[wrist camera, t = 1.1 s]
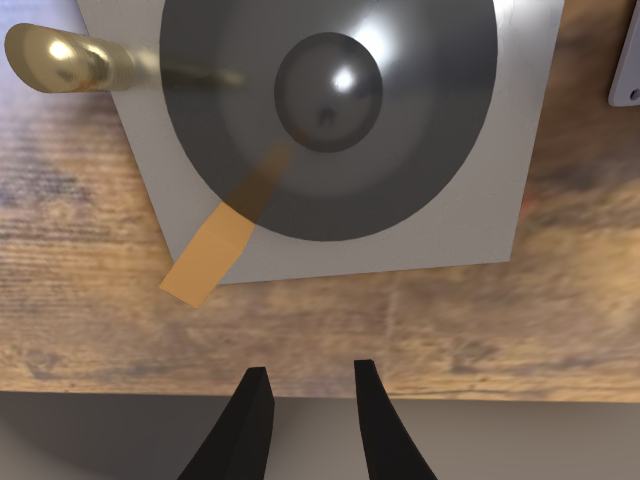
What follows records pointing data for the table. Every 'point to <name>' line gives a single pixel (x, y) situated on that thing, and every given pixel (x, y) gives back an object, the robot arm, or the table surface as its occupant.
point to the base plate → (264, 245)
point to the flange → (320, 115)
